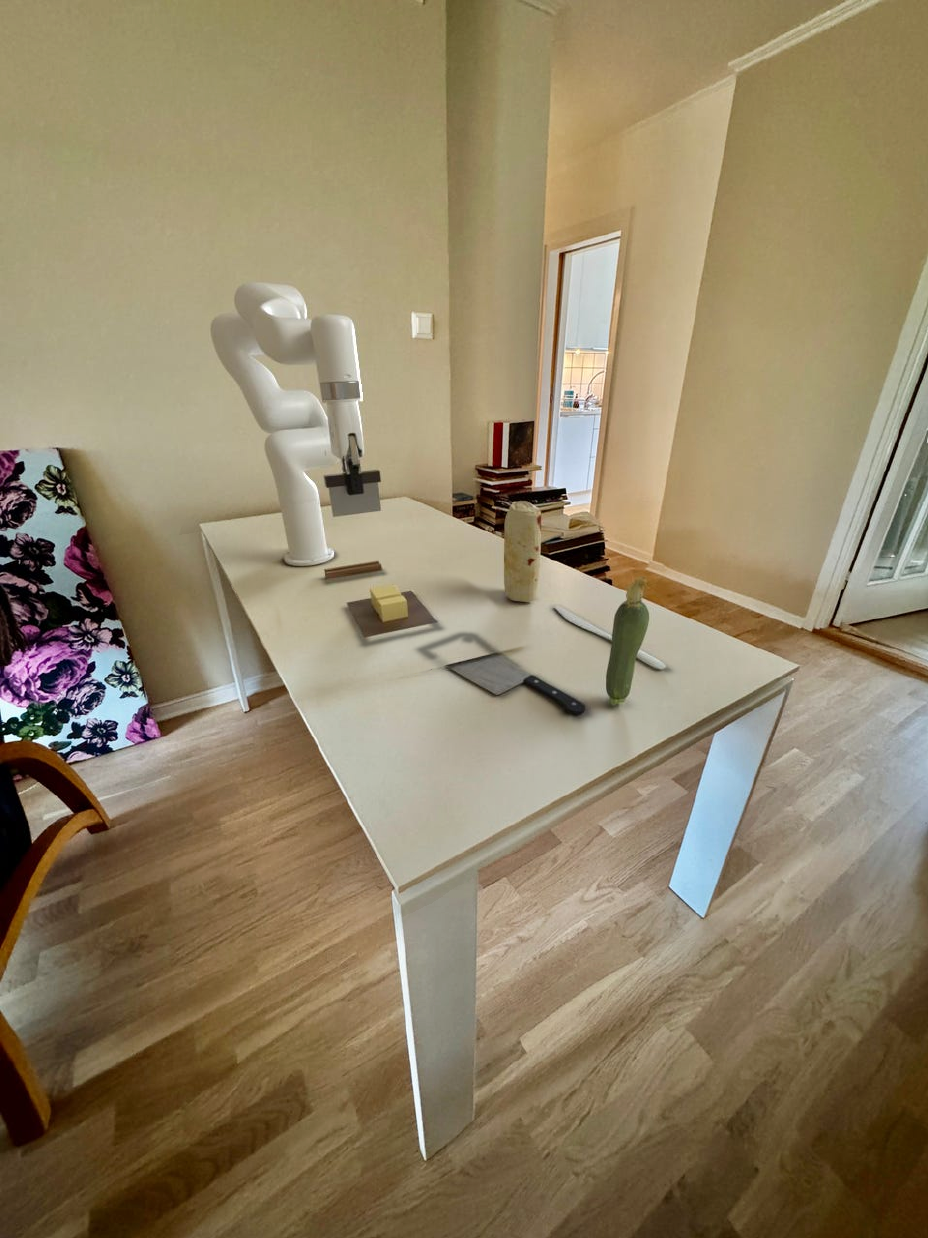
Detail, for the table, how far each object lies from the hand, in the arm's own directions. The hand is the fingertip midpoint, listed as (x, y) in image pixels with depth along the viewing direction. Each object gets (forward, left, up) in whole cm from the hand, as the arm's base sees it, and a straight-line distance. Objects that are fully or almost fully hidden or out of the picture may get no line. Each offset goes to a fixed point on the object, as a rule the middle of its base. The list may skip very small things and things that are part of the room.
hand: (354, 492), depth 98 cm
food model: (+18, +29, -22) cm, 41 cm away
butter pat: (+19, +1, -20) cm, 27 cm away
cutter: (0, 0, -4) cm, 4 cm away
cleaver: (+43, +11, -22) cm, 50 cm away
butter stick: (+14, +1, -20) cm, 24 cm away
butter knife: (+39, +34, -22) cm, 56 cm away
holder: (-9, -1, -22) cm, 23 cm away
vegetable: (+56, +24, -22) cm, 65 cm away
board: (+16, +1, -22) cm, 27 cm away
